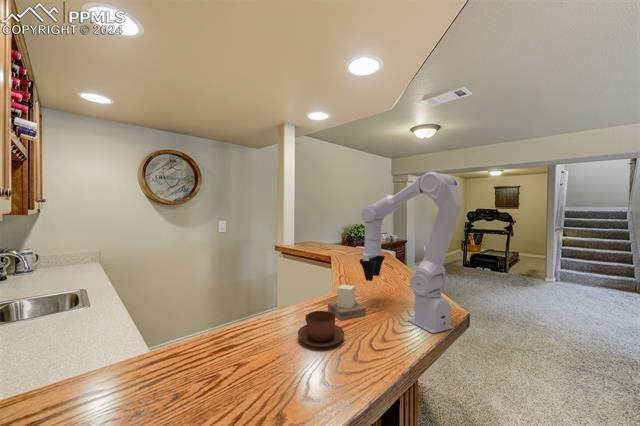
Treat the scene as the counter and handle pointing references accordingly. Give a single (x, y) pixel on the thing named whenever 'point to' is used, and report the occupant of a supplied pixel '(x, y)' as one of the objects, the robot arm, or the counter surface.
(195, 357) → the counter surface
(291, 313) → the counter surface
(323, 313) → the cup and saucer
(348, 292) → the sage block
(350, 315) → the walnut slab
